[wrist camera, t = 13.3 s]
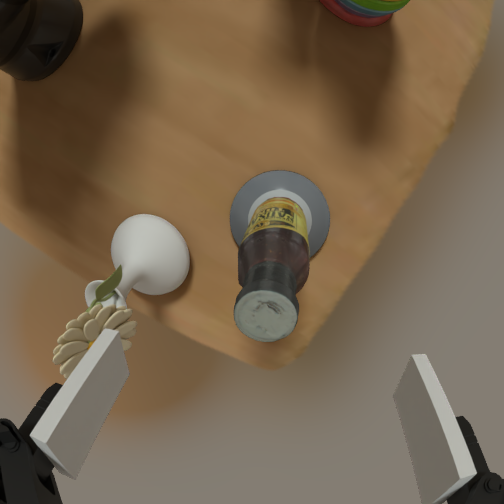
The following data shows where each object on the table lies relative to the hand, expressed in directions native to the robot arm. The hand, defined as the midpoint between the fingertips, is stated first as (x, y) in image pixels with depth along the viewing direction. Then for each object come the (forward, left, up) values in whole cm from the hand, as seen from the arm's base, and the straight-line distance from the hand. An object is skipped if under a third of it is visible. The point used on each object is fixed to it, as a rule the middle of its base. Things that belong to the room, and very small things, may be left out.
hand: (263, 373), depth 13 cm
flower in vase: (-15, -6, -27) cm, 32 cm away
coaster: (+1, -1, -27) cm, 27 cm away
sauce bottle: (0, -1, -26) cm, 26 cm away
